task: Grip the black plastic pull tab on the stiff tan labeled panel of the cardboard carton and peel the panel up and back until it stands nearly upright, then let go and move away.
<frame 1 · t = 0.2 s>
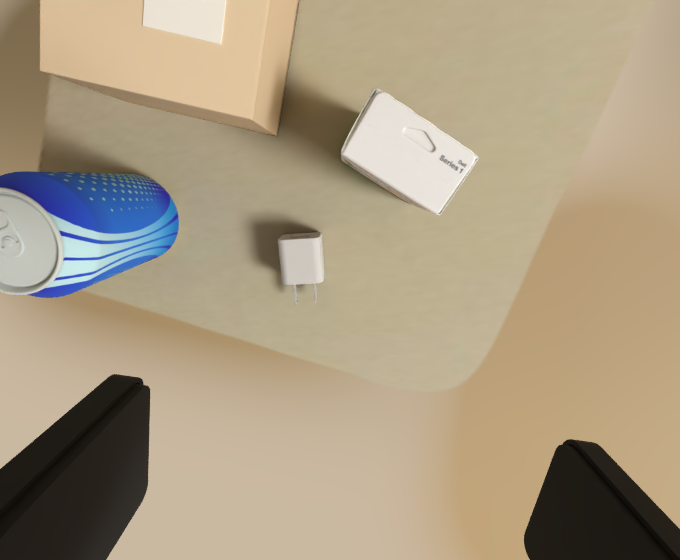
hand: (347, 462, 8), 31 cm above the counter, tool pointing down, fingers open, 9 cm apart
ink box: (388, 161, 36), on the counter
carton: (215, 25, 33), on the counter
beer can: (144, 216, 38), on the counter
usb wall charger: (305, 265, 39), on the counter
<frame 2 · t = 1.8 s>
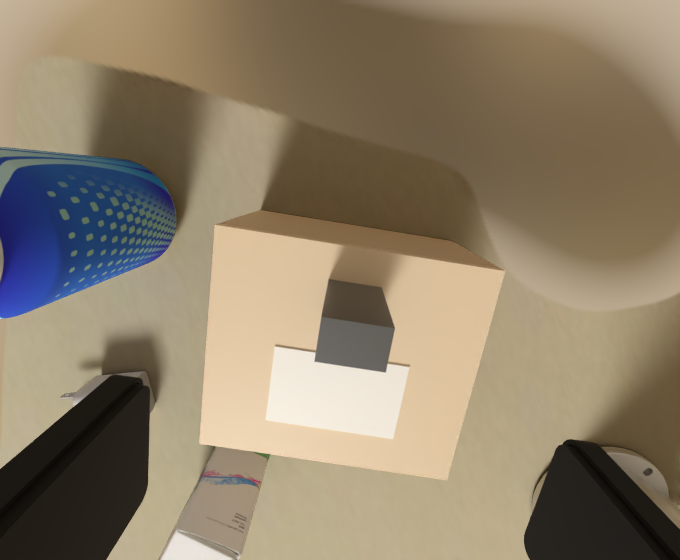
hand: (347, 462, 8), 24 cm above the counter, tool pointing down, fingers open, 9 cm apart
ink box: (235, 460, 37), on the counter
carton: (343, 304, 33), on the counter
beer can: (134, 212, 31), on the counter
usb wall charger: (117, 389, 35), on the counter
tan labeled panel: (340, 387, 19), point 14 cm above the counter, hinge at 0.0°
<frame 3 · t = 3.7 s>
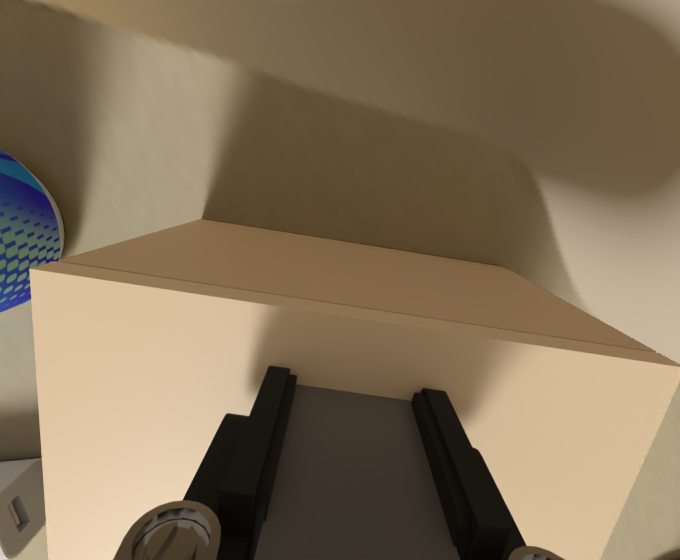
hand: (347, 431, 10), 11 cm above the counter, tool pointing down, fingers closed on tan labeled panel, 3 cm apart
carton: (334, 362, 21), on the counter
beer can: (1, 223, 20), on the counter
usb wall charger: (3, 481, 24), on the counter
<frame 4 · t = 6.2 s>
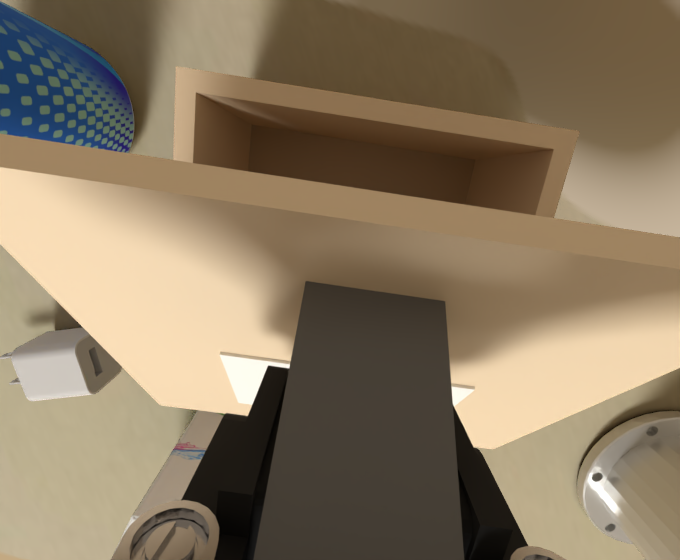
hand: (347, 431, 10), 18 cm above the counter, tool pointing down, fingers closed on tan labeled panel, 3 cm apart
ink box: (220, 436, 31), on the counter
carton: (349, 236, 26), on the counter
beer can: (82, 117, 24), on the counter
usb wall charger: (75, 349, 29), on the counter
tan labeled panel: (338, 463, 10), point 17 cm above the counter, hinge at 39.7°, touching gripper
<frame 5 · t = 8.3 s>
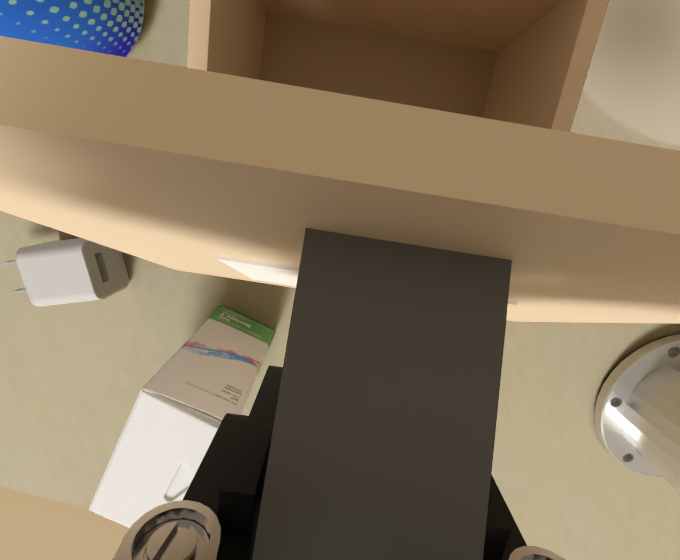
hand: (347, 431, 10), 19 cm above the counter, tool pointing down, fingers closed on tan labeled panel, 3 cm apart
ink box: (228, 360, 30), on the counter
carton: (365, 139, 25), on the counter
beer can: (89, 7, 23), on the counter
usb wall charger: (80, 264, 28), on the counter
tan labeled panel: (353, 375, 10), point 18 cm above the counter, hinge at 68.4°, touching gripper
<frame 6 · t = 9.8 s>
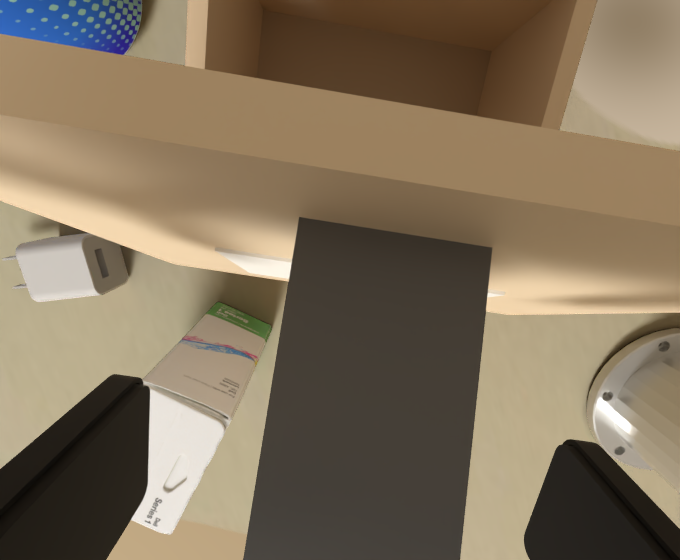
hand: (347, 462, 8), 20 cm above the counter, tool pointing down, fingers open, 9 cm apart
ink box: (225, 355, 30), on the counter
carton: (361, 137, 25), on the counter
beer can: (87, 5, 24), on the counter
usb wall charger: (80, 260, 28), on the counter
tan labeled panel: (347, 363, 10), point 18 cm above the counter, hinge at 68.5°
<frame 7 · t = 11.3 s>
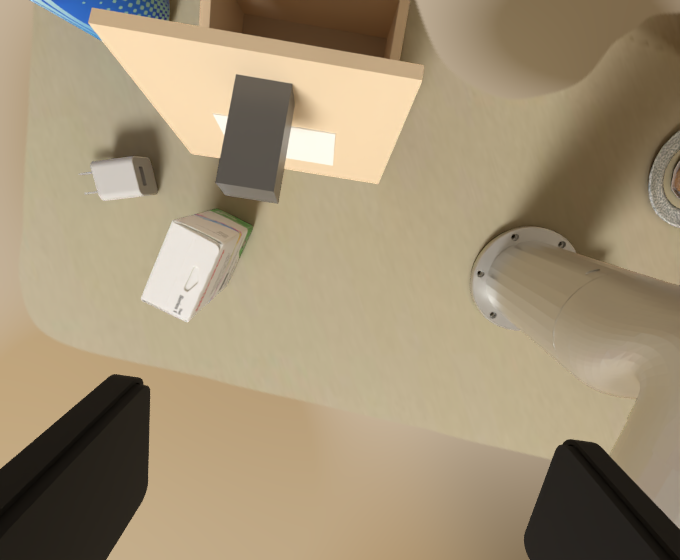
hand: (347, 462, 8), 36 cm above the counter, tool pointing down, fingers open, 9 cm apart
ink box: (222, 248, 44), on the counter
carton: (308, 95, 40), on the counter
beer can: (135, 10, 38), on the counter
usb wall charger: (125, 179, 42), on the counter
tan labeled panel: (269, 164, 24), point 18 cm above the counter, hinge at 68.5°
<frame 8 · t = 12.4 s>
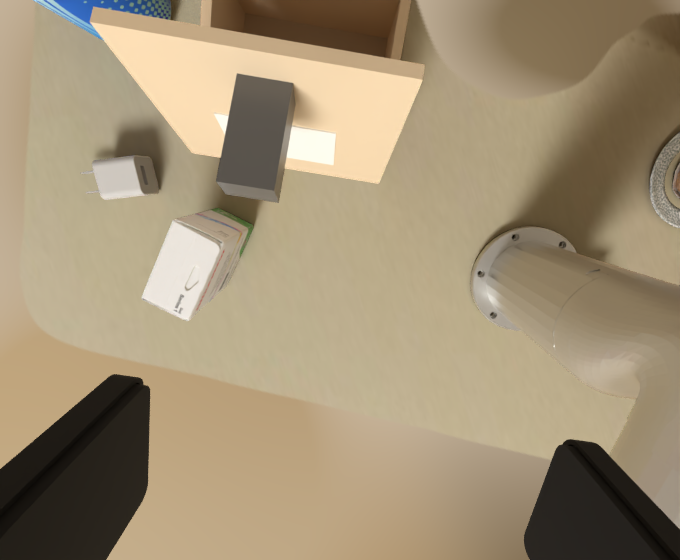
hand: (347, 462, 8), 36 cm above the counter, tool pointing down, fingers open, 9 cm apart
ink box: (222, 247, 44), on the counter
carton: (309, 94, 40), on the counter
beer can: (136, 10, 38), on the counter
usb wall charger: (127, 179, 42), on the counter
tan labeled panel: (269, 163, 24), point 18 cm above the counter, hinge at 68.5°
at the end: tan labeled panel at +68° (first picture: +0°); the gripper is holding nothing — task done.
